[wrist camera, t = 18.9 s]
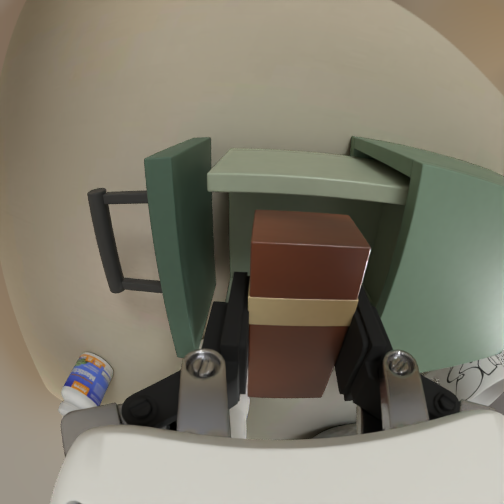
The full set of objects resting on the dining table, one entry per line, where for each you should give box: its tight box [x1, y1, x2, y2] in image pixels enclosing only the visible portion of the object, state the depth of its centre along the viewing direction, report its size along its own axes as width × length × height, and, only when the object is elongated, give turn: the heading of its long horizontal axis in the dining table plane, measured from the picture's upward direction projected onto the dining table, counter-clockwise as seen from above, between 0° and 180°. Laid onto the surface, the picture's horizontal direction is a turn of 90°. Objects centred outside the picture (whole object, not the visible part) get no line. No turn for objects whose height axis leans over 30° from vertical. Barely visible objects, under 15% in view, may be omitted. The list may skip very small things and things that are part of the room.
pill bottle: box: [58, 352, 113, 416], centre depth 27 cm, size 5×5×10 cm
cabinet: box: [350, 136, 504, 373], centre depth 15 cm, size 15×13×10 cm
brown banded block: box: [247, 210, 371, 398], centre depth 11 cm, size 4×8×3 cm, turn 179°
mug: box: [424, 355, 504, 406], centre depth 22 cm, size 11×8×10 cm
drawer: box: [87, 137, 411, 358], centre depth 16 cm, size 19×11×8 cm, turn 89°
